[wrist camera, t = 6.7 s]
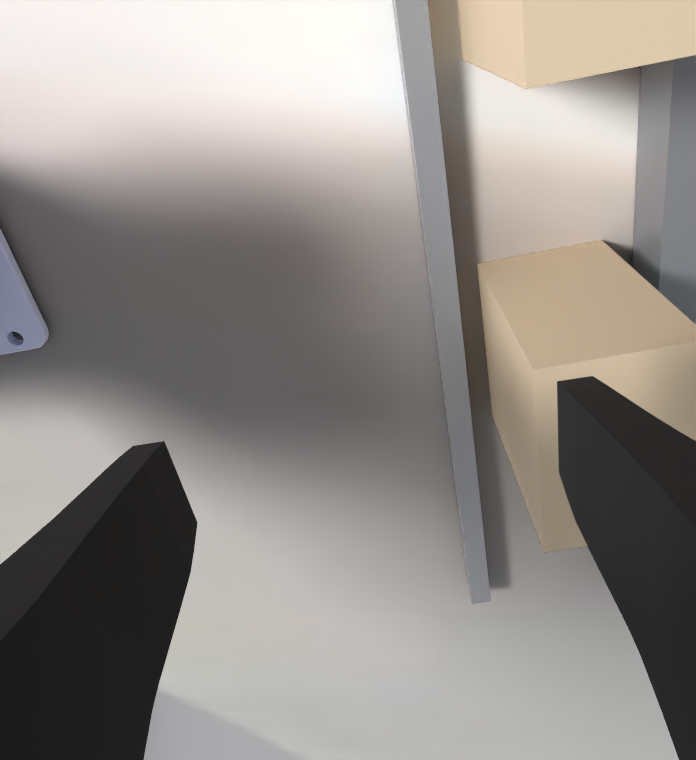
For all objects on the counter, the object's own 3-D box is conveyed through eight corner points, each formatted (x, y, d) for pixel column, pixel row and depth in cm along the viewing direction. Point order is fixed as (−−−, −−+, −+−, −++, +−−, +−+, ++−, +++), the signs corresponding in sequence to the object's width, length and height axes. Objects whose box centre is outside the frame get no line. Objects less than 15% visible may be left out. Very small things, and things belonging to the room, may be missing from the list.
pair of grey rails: (468, 585, 28) (476, 623, 27) (372, -154, 15) (377, -175, 14) (651, 559, 28) (672, 596, 26) (715, -235, 15) (765, -267, 13)
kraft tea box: (491, 413, 24) (544, 552, 18) (476, 263, 21) (533, 370, 15) (604, 394, 24) (697, 530, 17) (605, 238, 20) (718, 337, 14)
